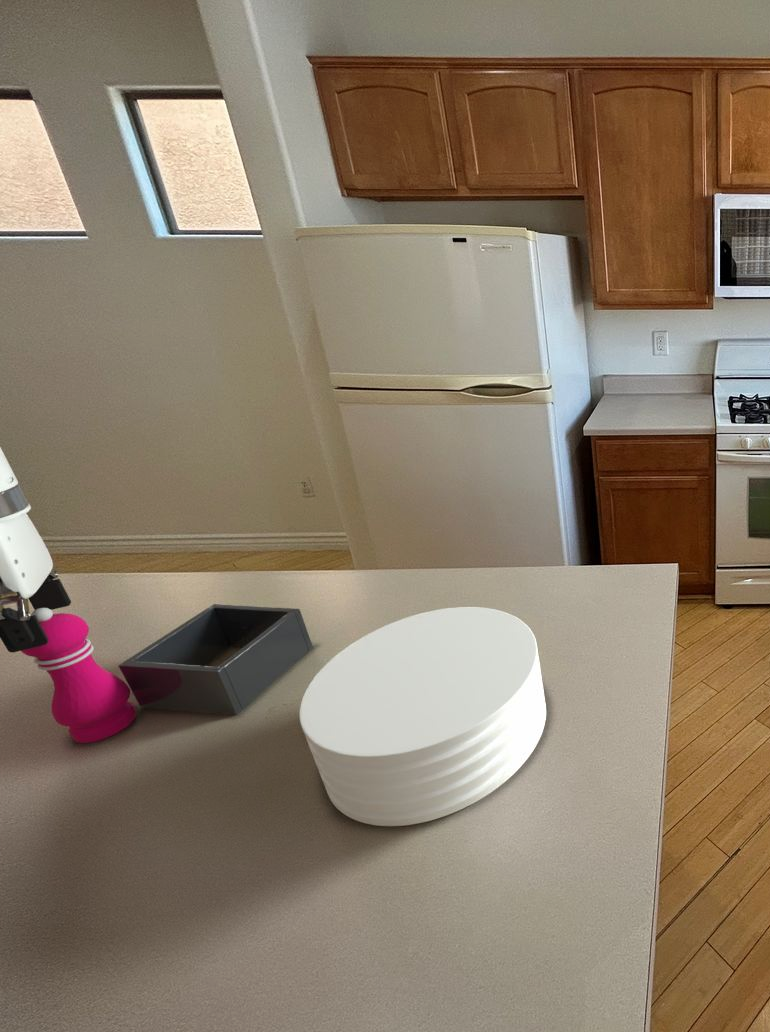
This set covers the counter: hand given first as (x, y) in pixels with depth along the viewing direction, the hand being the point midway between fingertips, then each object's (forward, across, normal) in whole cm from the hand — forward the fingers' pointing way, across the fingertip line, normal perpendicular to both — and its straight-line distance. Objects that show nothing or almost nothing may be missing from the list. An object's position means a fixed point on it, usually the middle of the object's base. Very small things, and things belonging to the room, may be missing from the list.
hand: (42, 626), depth 71 cm
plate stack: (+17, +29, +39) cm, 52 cm away
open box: (+17, -3, +15) cm, 23 cm away
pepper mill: (+18, 0, +1) cm, 18 cm away
